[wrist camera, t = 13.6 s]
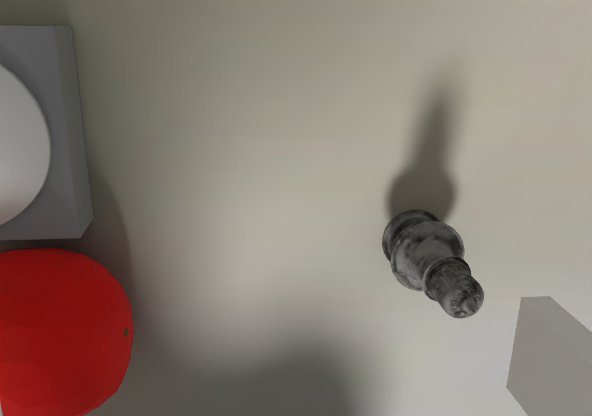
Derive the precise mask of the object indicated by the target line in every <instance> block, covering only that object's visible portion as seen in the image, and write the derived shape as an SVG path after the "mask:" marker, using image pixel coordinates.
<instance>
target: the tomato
mask: <svg viewBox="0 0 592 416" xmlns="http://www.w3.org/2000/svg"><path fill="white" fill-rule="evenodd" d="M133 332H134V331H133V322H132V313H131V305H130V303H129V301H128V299H127V296H126V294H125V292H124V290H123V288H122V286H121V285H120V283H119V282H118V280H117V279H116V278H115V277H114V276H113V275H112V274H111V273H110V272H109V271H108V270H107V269H106V268H105V267H104V266H103V265H102V264H100V263H98V262H97V261H95V260H93V259H91V258H89V257H88V256H86V255H84V254H81V253H77V252H73V251H69V250H65V249H62V248H24V249H15V250H9V251H5V252H1V253H0V404H1V409H2V414H3V416H83V415H84V414H86V413H88V412H90V411H92V410H93V409H95V408H97V407H99V406H100V405H101V404H102V403H103V402H105V401H106V400H107V399H108V398H109V397H111V396H112V395H113V394H114V393H115V392H116V391H117V389H118V388H119V386H120V384H121V382H122V380H123V377H124V374H125V372H126V369H127V366H128V363H129V360H130V355H131V347H132V340H133Z"/></svg>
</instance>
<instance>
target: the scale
mask: <svg viewBox="0 0 592 416" xmlns="http://www.w3.org/2000/svg"><path fill="white" fill-rule="evenodd" d="M93 219H94V216H93V208H92V199H91V190H90V181H89V172H88V164H87V155H86V146H85V137H84V129H83V120H82V111H81V102H80V93H79V85H78V76H77V67H76V58H75V50H74V41H73V32H72V26H32V25H0V240H35V239H71V238H80V237H81V236H82V235H83V233H84V232H85V230H86V229H87V228H88V226H89V225H90V223H91V222H92V221H93Z"/></svg>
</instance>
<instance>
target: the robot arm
mask: <svg viewBox="0 0 592 416" xmlns="http://www.w3.org/2000/svg"><path fill="white" fill-rule="evenodd" d="M507 388H508V390H509V391H510V392H511V394H512V395H513V396H514V398H515V399H516V400H517V402H518V403H519V404H520V406H521V407H522V408H523V410H524V411H525V412H526V414H527V415H528V416H592V332H591V331H589V330H588V329H587V328H586V327H585V326H584V325H582V324H581V323H580V322H579V321H578V320H576V319H575V318H574V317H573V316H572V315H571V314H569V313H568V312H567V311H566V310H565V309H564V308H562V307H561V306H560V305H559V304H558V303H557V302H555V301H554V300H553V299H552V298H551V297H550V296H543V297H521V303H520V309H519V315H518V321H517V327H516V333H515V339H514V345H513V351H512V357H511V363H510V369H509V375H508V381H507ZM0 416H3V414H2V409H1V404H0Z"/></svg>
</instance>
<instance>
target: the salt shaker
mask: <svg viewBox="0 0 592 416" xmlns="http://www.w3.org/2000/svg"><path fill="white" fill-rule="evenodd" d="M382 246H383V250H384V253H385V255H386V257H387V259H388V260H389V261H390V262H391V263H390V264H391V268H392V272H393V274H394V275H395V277H396V279H397V280H398V281H399V282H400V283H401V284H402V285H403V286H405V287H407V288H409V289H411V290H416V291H424V293H425V294H426V295H427V296H428V297H429V298H430V299H432V300H434V301H437V302H438V303H439V304H440V305H441V307H442V308H443V309H444V311H445V312H446V313H448V314H449V315H450V316H452V317H454V318H466V317H470V316H472V315H473V314H475V313H476V312H477V311H478V310H479V309H480V307H481V306H482V303H483V300H484V293H483V290H482V288H481V286H480V284H479V283H478V282H477V281H476V280H475V279H474V278H473V277H472V276H471V271H470V268H469V266H468V264H467V263H466V262H465V261H464V245H463V241H462V239H461V237H460V235H459V234H458V233H457V232H456V231H455V230H454V229H453V228H452V227H450V226H449V225H447V224H445V223H441V222H440V221H439V220H438V219H437V218H436V217H435V216H434V215H432V214H430V213H428V212H425V211H421V210H413V211H408V212H405V213H402V214H400V215H399V216H397V217H395V218H394V219H393V220H392V221H391V222H390V223H389V225H388V226H387V228H386V230H385V232H384V235H383V242H382Z"/></svg>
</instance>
